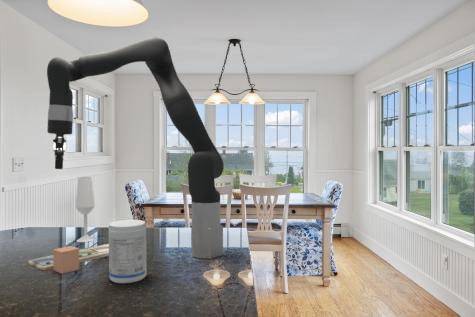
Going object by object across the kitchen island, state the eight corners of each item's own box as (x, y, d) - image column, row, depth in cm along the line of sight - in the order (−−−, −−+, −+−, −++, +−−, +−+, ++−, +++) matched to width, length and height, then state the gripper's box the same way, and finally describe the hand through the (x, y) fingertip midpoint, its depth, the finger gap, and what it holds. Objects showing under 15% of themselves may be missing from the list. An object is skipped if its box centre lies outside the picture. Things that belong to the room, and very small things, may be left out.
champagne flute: (97, 238, 148) (97, 176, 148) (90, 242, 141) (90, 177, 141) (80, 238, 148) (79, 176, 148) (73, 242, 141) (72, 177, 141)
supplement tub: (113, 273, 104) (113, 219, 104) (148, 271, 105) (148, 219, 105) (105, 285, 95) (104, 226, 95) (143, 283, 96) (143, 225, 96)
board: (127, 251, 127) (127, 247, 127) (44, 270, 107) (43, 266, 107) (108, 245, 135) (108, 242, 135) (26, 263, 115) (26, 258, 115)
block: (79, 269, 108) (78, 248, 108) (61, 274, 104) (61, 252, 104) (70, 266, 111) (70, 245, 111) (53, 270, 108) (53, 249, 107)
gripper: (73, 119, 122) (71, 169, 122) (72, 121, 134) (70, 167, 135) (47, 117, 118) (45, 169, 119) (48, 120, 131) (46, 166, 132)
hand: (58, 168), depth 127 cm, fingers open, 8 cm apart
